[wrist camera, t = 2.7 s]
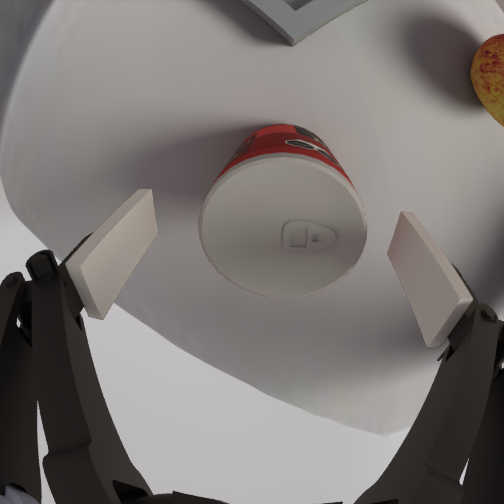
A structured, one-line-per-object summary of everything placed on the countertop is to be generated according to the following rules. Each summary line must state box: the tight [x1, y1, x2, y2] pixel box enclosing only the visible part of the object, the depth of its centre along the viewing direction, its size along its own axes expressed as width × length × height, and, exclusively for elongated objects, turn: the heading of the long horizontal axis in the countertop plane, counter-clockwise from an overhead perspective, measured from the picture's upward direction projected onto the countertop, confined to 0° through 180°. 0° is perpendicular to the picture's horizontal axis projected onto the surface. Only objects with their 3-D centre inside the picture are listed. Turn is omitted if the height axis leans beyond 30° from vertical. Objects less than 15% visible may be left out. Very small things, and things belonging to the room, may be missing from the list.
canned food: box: [199, 124, 367, 298], centre depth 17 cm, size 8×8×11 cm
